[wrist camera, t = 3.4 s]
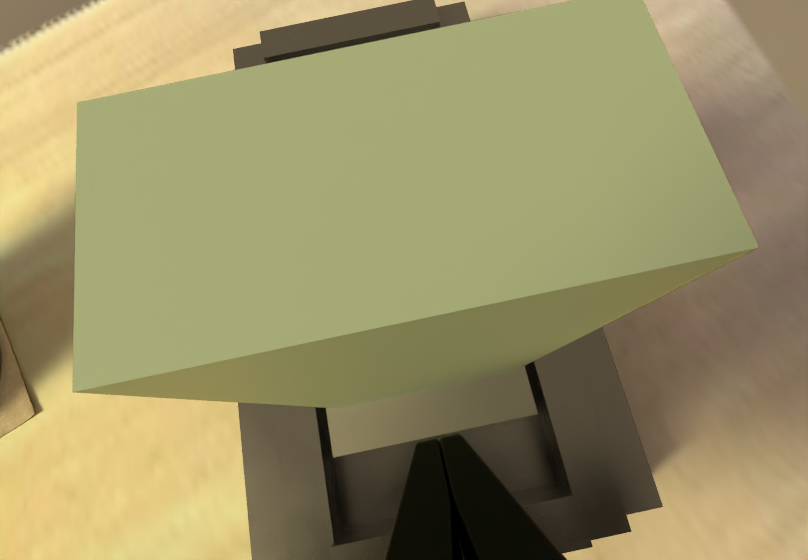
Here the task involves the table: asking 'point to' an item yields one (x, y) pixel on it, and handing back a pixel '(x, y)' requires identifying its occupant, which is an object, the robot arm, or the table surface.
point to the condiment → (11, 389)
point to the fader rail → (495, 443)
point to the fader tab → (393, 220)
